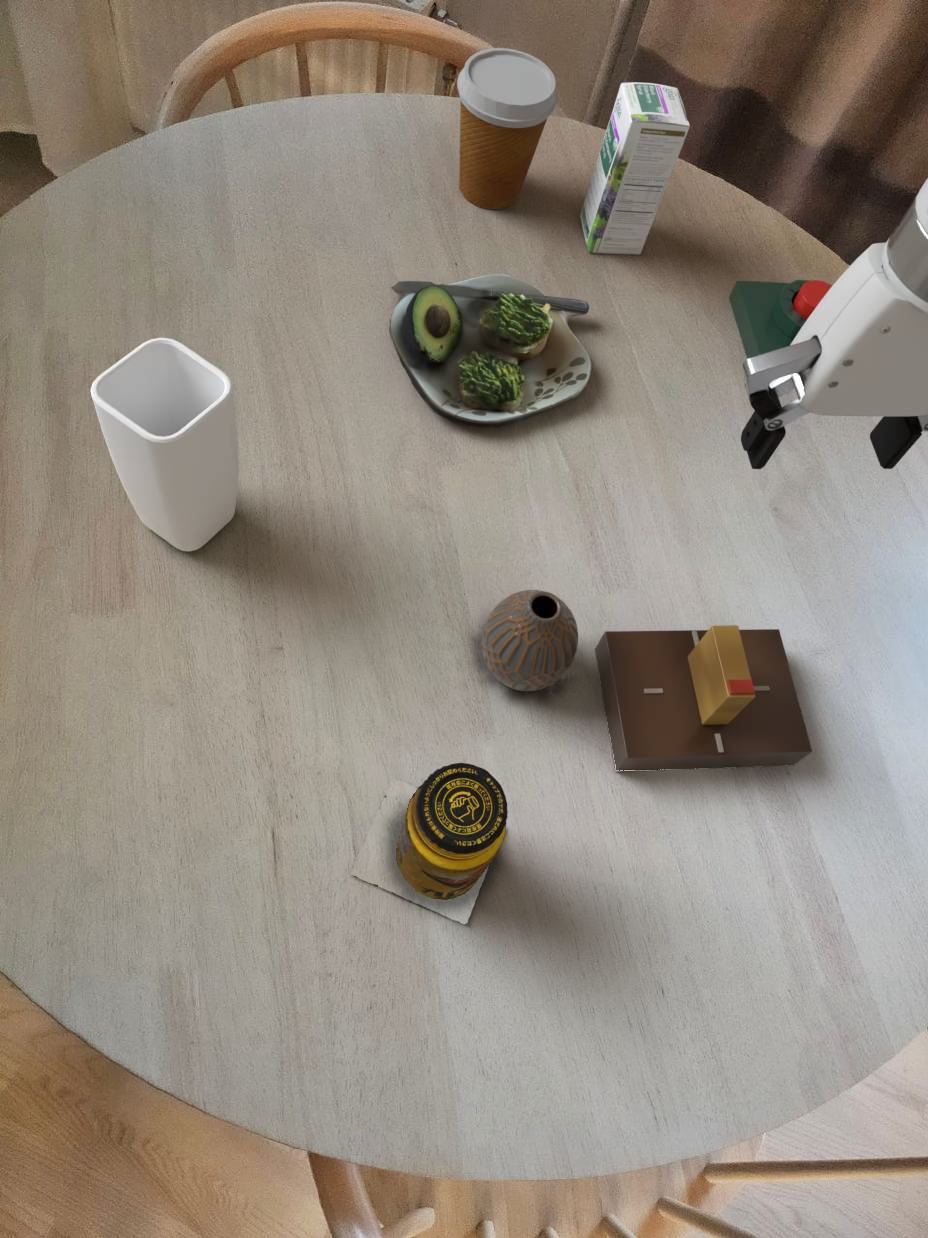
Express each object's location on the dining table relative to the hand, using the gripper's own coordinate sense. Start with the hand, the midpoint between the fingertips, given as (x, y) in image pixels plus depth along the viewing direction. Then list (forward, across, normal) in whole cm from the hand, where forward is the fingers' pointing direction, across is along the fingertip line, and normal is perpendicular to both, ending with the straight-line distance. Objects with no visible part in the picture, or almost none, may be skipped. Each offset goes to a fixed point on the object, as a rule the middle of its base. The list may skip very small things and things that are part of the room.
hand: (816, 452), depth 66 cm
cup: (+15, +44, -5) cm, 47 cm away
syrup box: (+15, +4, -40) cm, 43 cm away
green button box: (+15, -13, -26) cm, 33 cm away
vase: (+15, +19, +8) cm, 26 cm away
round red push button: (+12, -13, -26) cm, 32 cm away
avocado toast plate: (+15, +19, -23) cm, 33 cm away
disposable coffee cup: (+15, +15, -46) cm, 51 cm away
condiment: (+15, +28, +22) cm, 39 cm away
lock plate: (+15, +6, +12) cm, 21 cm away
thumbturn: (+12, +6, +13) cm, 18 cm away
